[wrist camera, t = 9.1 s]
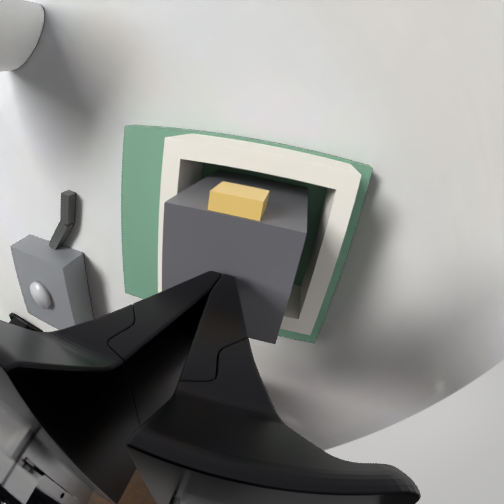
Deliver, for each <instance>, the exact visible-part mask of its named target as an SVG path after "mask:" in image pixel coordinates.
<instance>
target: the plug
mask: <svg viewBox="0 0 504 504" xmlns="http://www.w3.org/2000/svg"><path fill="white" fill-rule="evenodd" d="M307 203H308V188H305V187H301V186H297V185H293V184H288V183H284V182H279V181H274V180H270V179H265V178H260V177H255V176H250V175H245V174H240V173H235V172H230V171H224V170H218V171H216V172H214V173H212V174H211V175H209V176H207V177H205V178H204V179H202V180H200V181H199V182H197V183H195V184H194V185H192V186H190V187H188V188H187V189H185V190H183V191H182V192H180V193H179V194H177V195H175V196H174V197H172V198H170V199H169V200H167V201H166V202H164V219H163V243H162V291H164V290H166V289H168V288H171V287H173V286H175V285H178V284H180V283H182V282H185V281H187V280H189V279H191V278H194V277H196V276H198V275H201V274H203V273H205V272H208V271H215V272H219V273H222V275H223V274H227V275H232V276H235V277H236V281H237V286H238V290H239V295H240V300H241V305H242V310H243V315H244V319H245V324H246V329H247V333H248V338H252V339H256V340H260V341H264V342H269V343H273V344H275V343H276V340H277V337H278V333H279V330H280V327H281V323H282V320H283V317H284V313H285V310H286V307H287V303H288V300H289V296H290V293H291V289H292V286H293V282H294V279H295V275H296V272H297V268H298V264H299V261H300V257H301V253H302V250H303V246H304V242H305V238H306V234H307Z"/></svg>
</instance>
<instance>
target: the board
mask: <svg viewBox="0 0 504 504" xmlns="http://www.w3.org/2000/svg"><path fill="white" fill-rule="evenodd" d="M372 169H373V168H372V167H370V166H369V165H366V164H363V163H359V162H356V161H352V160H348V159H345V158H341V157H337V156H333V155H329V154H325V153H321V152H317V151H313V150H308V149H304V148H299V147H295V146H290V145H285V144H280V143H275V142H270V141H264V140H259V139H253V138H247V137H241V136H235V135H229V134H222V133H214V132H207V131H199V130H190V129H181V128H171V127H159V126H145V125H128V126H125V131H124V143H123V160H122V187H121V226H122V254H123V271H124V284H125V293H127V294H130V295H133V296H136V297H139V298H142V299H145V298H148V297H150V296H152V295H155V294H157V293H159V292H161V291H162V243H163V219H164V202H166V201H167V200H169V199H170V198H172V197H174V196H175V195H177V194H179V193H180V192H182V191H183V190H185V189H187V188H188V187H190V186H192V185H194V184H195V183H197V182H199V181H200V180H202V179H204V178H205V177H207V176H209V175H211V174H212V173H214V172H216V171H218V170H224V171H230V172H235V173H240V174H245V175H250V176H255V177H260V178H265V179H270V180H274V181H279V182H284V183H288V184H293V185H297V186H301V187H305V188H308V203H307V234H306V238H305V242H304V246H303V250H302V253H301V257H300V261H299V264H298V268H297V272H296V275H295V279H294V282H293V286H292V289H291V293H290V296H289V300H288V303H287V307H286V310H285V313H284V317H283V320H282V323H281V327H280V330H279V333H278V336H282V337H286V338H291V339H295V340H300V341H305V342H310V343H315V341H316V339H317V336H318V334H319V331H320V329H321V326H322V324H323V321H324V319H325V316H326V313H327V311H328V308H329V305H330V303H331V300H332V297H333V295H334V292H335V289H336V286H337V284H338V281H339V278H340V275H341V272H342V269H343V266H344V264H345V261H346V258H347V255H348V252H349V248H350V245H351V242H352V239H353V236H354V233H355V229H356V226H357V223H358V220H359V216H360V213H361V209H362V206H363V202H364V199H365V195H366V192H367V188H368V184H369V180H370V177H371V173H372Z"/></svg>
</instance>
